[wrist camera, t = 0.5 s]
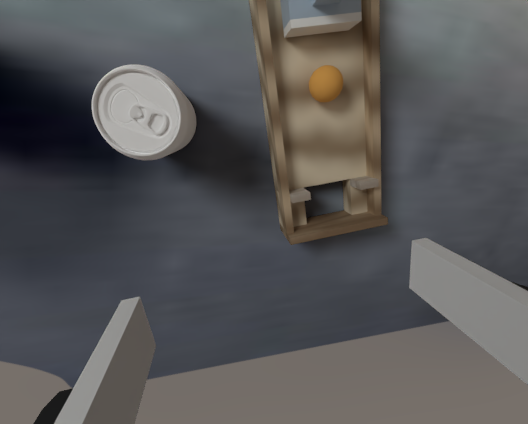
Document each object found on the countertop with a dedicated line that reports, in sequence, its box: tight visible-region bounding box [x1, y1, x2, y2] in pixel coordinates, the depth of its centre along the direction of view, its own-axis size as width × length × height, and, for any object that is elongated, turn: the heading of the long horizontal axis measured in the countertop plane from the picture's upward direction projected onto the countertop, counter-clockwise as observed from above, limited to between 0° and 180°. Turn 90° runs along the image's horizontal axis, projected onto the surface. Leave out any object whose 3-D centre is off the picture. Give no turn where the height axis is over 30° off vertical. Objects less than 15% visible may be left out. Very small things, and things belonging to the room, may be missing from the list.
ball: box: [309, 65, 343, 102], centre depth 32 cm, size 4×4×4 cm
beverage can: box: [92, 65, 196, 160], centre depth 28 cm, size 8×8×12 cm
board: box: [249, 0, 388, 245], centre depth 34 cm, size 32×14×6 cm, turn 9°
